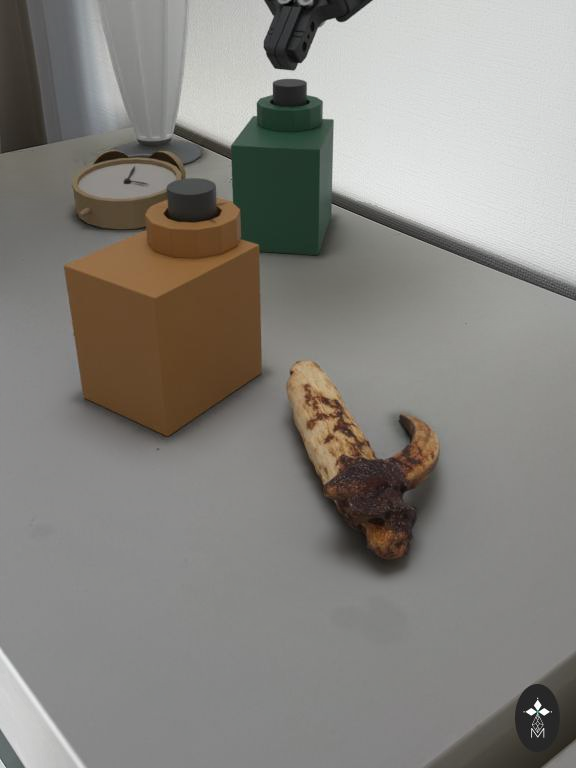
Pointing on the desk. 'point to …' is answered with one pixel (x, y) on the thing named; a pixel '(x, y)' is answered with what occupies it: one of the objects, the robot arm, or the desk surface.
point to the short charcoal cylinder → (289, 92)
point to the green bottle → (284, 177)
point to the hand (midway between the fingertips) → (279, 62)
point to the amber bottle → (168, 318)
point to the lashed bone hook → (360, 462)
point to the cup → (149, 69)
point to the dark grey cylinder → (192, 200)
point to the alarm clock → (124, 187)
